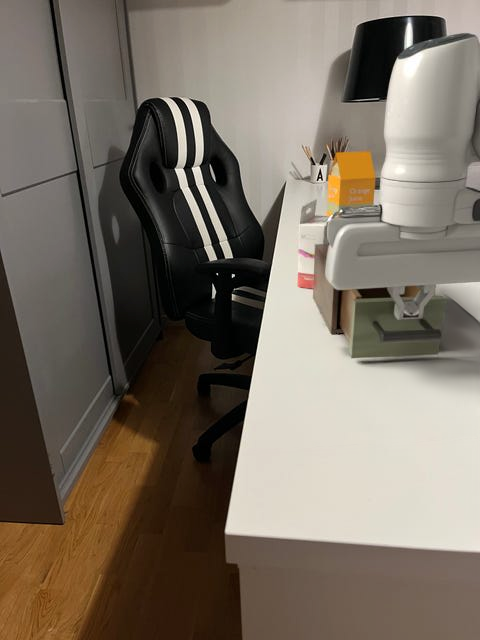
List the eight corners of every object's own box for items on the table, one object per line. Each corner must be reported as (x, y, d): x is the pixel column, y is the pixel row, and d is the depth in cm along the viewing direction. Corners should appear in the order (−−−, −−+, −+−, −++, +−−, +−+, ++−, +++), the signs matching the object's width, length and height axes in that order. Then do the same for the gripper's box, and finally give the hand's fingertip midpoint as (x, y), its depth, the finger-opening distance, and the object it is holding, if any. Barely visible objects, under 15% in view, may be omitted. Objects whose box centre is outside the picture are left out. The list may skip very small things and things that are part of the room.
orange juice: (325, 233, 127) (329, 151, 119) (357, 231, 129) (363, 149, 121) (337, 241, 120) (341, 154, 112) (371, 238, 122) (378, 152, 114)
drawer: (454, 372, 61) (464, 313, 58) (361, 377, 60) (366, 317, 57) (402, 313, 77) (407, 265, 74) (329, 317, 77) (331, 268, 74)
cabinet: (415, 330, 74) (423, 268, 70) (330, 334, 73) (334, 272, 69) (384, 295, 87) (389, 241, 83) (312, 298, 87) (314, 244, 83)
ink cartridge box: (322, 291, 90) (326, 208, 84) (296, 287, 92) (298, 206, 86) (336, 276, 97) (340, 199, 91) (311, 273, 99) (314, 198, 93)
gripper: (333, 214, 52) (328, 333, 58) (525, 203, 53) (502, 323, 58) (320, 202, 58) (318, 312, 63) (494, 193, 58) (476, 303, 64)
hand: (407, 317), depth 61 cm, fingers closed
